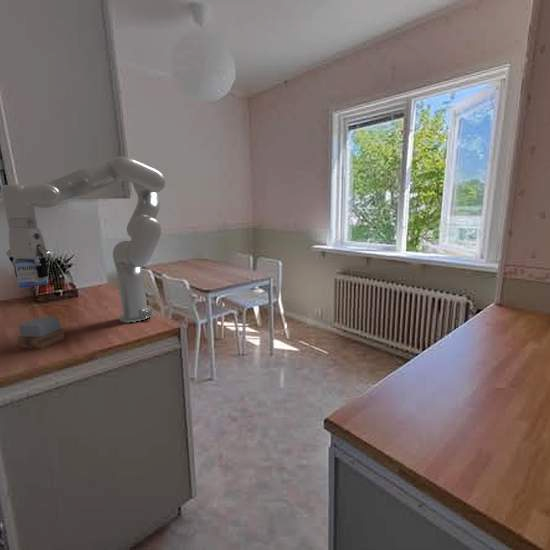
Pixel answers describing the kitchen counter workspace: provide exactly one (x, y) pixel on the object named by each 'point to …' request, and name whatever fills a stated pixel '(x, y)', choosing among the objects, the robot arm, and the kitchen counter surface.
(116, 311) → the kitchen counter surface
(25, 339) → the walnut slab
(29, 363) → the kitchen counter surface
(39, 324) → the grey slab
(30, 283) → the medicine box
